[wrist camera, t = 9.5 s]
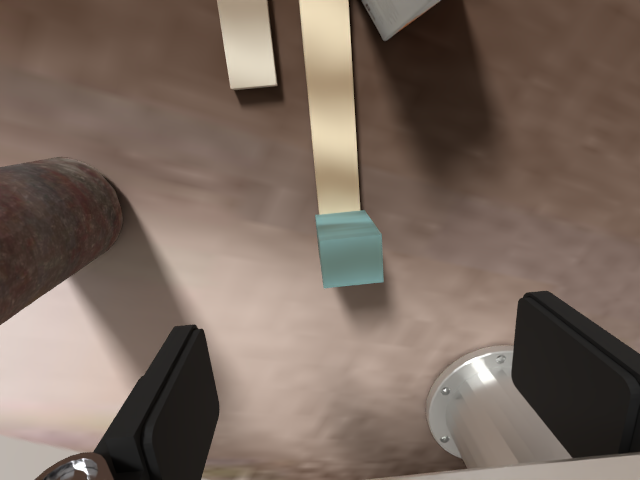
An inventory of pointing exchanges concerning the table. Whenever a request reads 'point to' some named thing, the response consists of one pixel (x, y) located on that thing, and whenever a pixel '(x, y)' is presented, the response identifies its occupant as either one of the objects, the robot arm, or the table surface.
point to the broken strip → (248, 43)
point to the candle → (51, 226)
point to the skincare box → (395, 14)
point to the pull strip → (337, 149)
